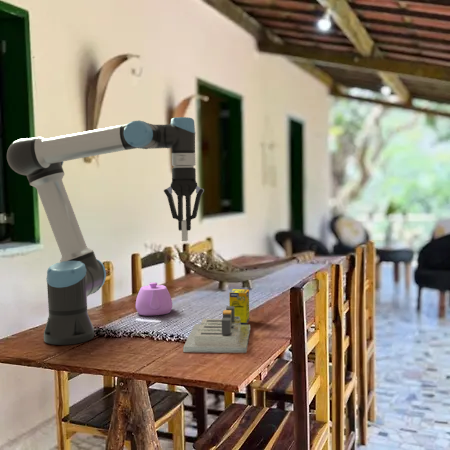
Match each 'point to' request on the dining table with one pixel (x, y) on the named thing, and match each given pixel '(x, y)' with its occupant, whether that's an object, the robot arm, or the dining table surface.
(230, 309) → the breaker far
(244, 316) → the supplement box
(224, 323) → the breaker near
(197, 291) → the dining table surface
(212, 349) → the panel
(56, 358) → the dining table surface
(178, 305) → the dining table surface
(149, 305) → the teapot
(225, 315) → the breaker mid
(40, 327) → the dining table surface
